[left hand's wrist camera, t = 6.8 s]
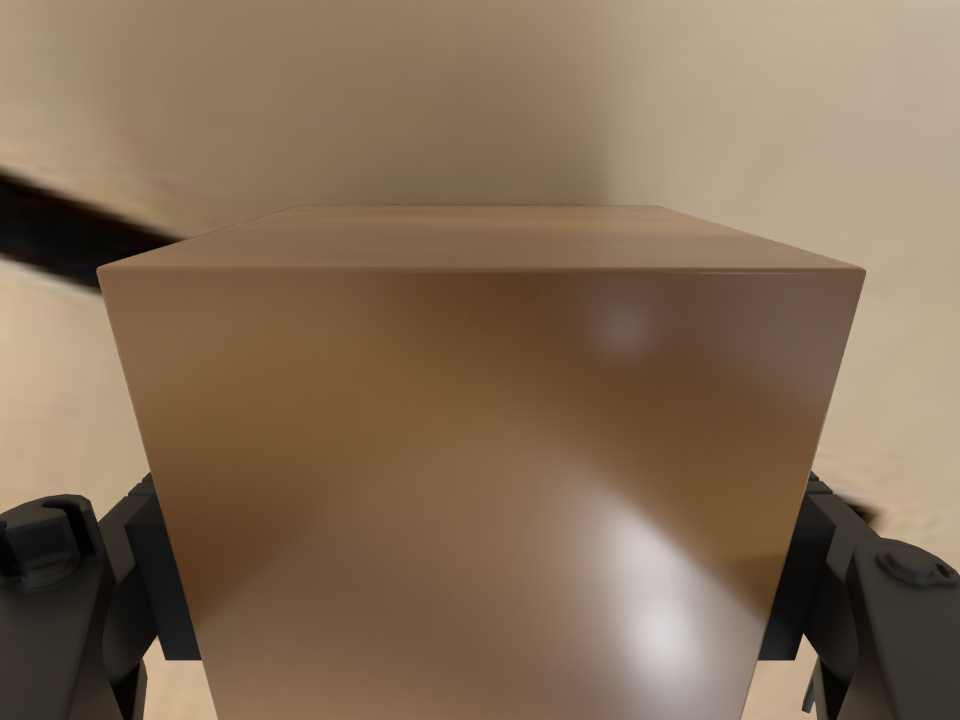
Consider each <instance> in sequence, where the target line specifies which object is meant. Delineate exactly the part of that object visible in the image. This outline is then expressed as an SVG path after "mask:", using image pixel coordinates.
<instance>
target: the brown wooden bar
mask: <svg viewBox="0 0 960 720" xmlns="http://www.w3.org/2000/svg"><path fill="white" fill-rule="evenodd" d="M97 276H98V279H99V283H100V287H101V290H102V294H103V298H104V301H105V305H106V309H107V312H108V316H109V320H110V323H111V327H112V331H113V334H114V338H115V342H116V346H117V349H118V353H119V357H120V360H121V364H122V368H123V371H124V375H125V379H126V382H127V386H128V390H129V393H130V397H131V401H132V404H133V408H134V412H135V415H136V419H137V423H138V426H139V430H140V434H141V437H142V441H143V445H144V448H145V452H146V456H147V460H148V463H149V467H150V471H151V474H152V478H153V482H154V485H155V489H156V493H157V496H158V500H159V504H160V507H161V511H162V515H163V518H164V522H165V526H166V529H167V533H168V537H169V540H170V544H171V548H172V551H173V555H174V559H175V562H176V566H177V570H178V574H179V577H180V581H181V585H182V588H183V592H184V596H185V599H186V603H187V607H188V610H189V614H190V618H191V621H192V625H193V629H194V632H195V636H196V640H197V643H198V647H199V651H200V654H201V658H202V662H203V665H204V669H205V673H206V677H207V680H208V684H209V688H210V691H211V695H212V699H213V702H214V706H215V710H216V713H217V717H218V720H741V717H742V713H743V710H744V706H745V703H746V699H747V695H748V692H749V688H750V685H751V681H752V678H753V674H754V671H755V667H756V663H757V660H758V656H759V653H760V649H761V646H762V642H763V639H764V635H765V631H766V628H767V624H768V621H769V617H770V614H771V610H772V607H773V603H774V599H775V596H776V592H777V589H778V585H779V582H780V578H781V575H782V571H783V567H784V564H785V560H786V557H787V553H788V550H789V546H790V543H791V539H792V535H793V532H794V528H795V525H796V521H797V518H798V514H799V511H800V507H801V503H802V500H803V496H804V493H805V489H806V486H807V482H808V479H809V475H810V471H811V468H812V464H813V461H814V457H815V454H816V450H817V447H818V443H819V439H820V436H821V432H822V429H823V425H824V422H825V418H826V415H827V411H828V407H829V404H830V400H831V397H832V393H833V390H834V386H835V383H836V379H837V375H838V372H839V368H840V365H841V361H842V358H843V354H844V351H845V347H846V343H847V340H848V336H849V333H850V329H851V326H852V322H853V319H854V315H855V311H856V308H857V304H858V301H859V297H860V294H861V290H862V287H863V283H864V279H865V276H866V270H865V269H863V268H861V267H858V266H855V265H851V264H848V263H845V262H841V261H838V260H835V259H832V258H828V257H825V256H822V255H818V254H815V253H812V252H808V251H805V250H802V249H798V248H795V247H792V246H788V245H785V244H782V243H779V242H775V241H772V240H769V239H765V238H762V237H759V236H755V235H752V234H749V233H745V232H742V231H739V230H736V229H732V228H729V227H726V226H722V225H719V224H716V223H712V222H709V221H706V220H702V219H699V218H696V217H692V216H689V215H686V214H683V213H679V212H676V211H673V210H669V209H666V208H663V207H659V206H549V205H299V206H296V207H292V208H289V209H286V210H282V211H279V212H276V213H273V214H269V215H266V216H263V217H260V218H256V219H253V220H250V221H247V222H243V223H240V224H237V225H233V226H230V227H227V228H224V229H220V230H217V231H214V232H211V233H207V234H204V235H201V236H197V237H194V238H191V239H188V240H184V241H181V242H178V243H175V244H171V245H168V246H165V247H162V248H158V249H155V250H152V251H148V252H145V253H142V254H139V255H135V256H132V257H129V258H126V259H122V260H119V261H116V262H112V263H109V264H106V265H103V266H100V267H98V268H97Z"/></svg>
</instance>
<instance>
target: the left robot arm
mask: <svg viewBox="0 0 960 720" xmlns="http://www.w3.org/2000/svg"><path fill="white" fill-rule="evenodd" d="M803 633H804V635H805V636H806V638H807V639H808V640H809V642H810V643H811V645H812V646H813V648H814V649H815V651H816V652H817V654H818V658H817V661H816V664H815V667H814V670H813V673H812V676H811V679H810V682H809V685H808V688H807V691H806V694H805V697H804V700H803V705H802V711H804V712H807V713H810V711H811V708H812V705H813V702H814V701H815V703H816V712H817V720H960V575H959V574H958V573H957V572H956V570H954V569H953V568H952V567H951V566H949V565H948V564H947V563H945V562H944V561H943V560H941V559H940V558H939V557H937V556H935V555H933V554H931V553H929V552H927V551H925V550H923V549H921V548H919V547H917V546H914V545H911V544H908V543H905V542H902V541H899V540H893V539H887V538H881V537H880V536H879V535H878V534H877V533H876V532H875V531H873V530H872V529H871V528H870V527H869V526H868V525H867V524H866V523H865V522H864V521H863V520H862V519H861V518H860V517H859V516H858V515H857V514H856V513H855V512H854V511H853V510H852V509H851V508H850V507H849V506H848V505H846V504H845V503H844V502H843V501H842V500H841V499H840V498H839V497H838V496H837V495H833V491H832V490H831V489H830V488H829V487H828V486H827V485H826V484H825V483H824V482H823V481H819V478H818V477H817V476H816V475H815V474H814V473H813V472H812V471H810V475H809V479H808V482H807V486H806V489H805V493H804V496H803V500H802V503H801V507H800V511H799V514H798V518H797V521H796V525H795V528H794V532H793V535H792V539H791V543H790V546H789V550H788V553H787V557H786V560H785V564H784V567H783V571H782V575H781V578H780V582H779V585H778V589H777V592H776V596H775V599H774V603H773V607H772V610H771V614H770V617H769V621H768V624H767V628H766V631H765V635H764V639H763V642H762V646H761V649H760V653H759V656H758V660H795V658H796V655H797V652H798V648H799V645H800V642H801V639H802V635H803ZM157 635H158V637H159V641H160V644H161V647H162V650H163V653H164V657H165V660H202V658H201V654H200V651H199V647H198V643H197V640H196V636H195V632H194V629H193V625H192V621H191V618H190V614H189V610H188V607H187V603H186V599H185V596H184V592H183V588H182V585H181V581H180V577H179V574H178V570H177V566H176V562H175V559H174V555H173V551H172V548H171V544H170V540H169V537H168V533H167V529H166V526H165V522H164V518H163V515H162V511H161V507H160V504H159V500H158V496H157V493H156V489H155V485H154V482H153V478H152V474H151V471H150V472H149V473H148V474H147V475H146V476H145V477H144V478H143V479H142V483H138V484H137V485H136V486H135V487H134V488H133V489H132V490H131V491H130V492H129V493H128V496H125V497H124V498H123V499H122V500H121V501H120V502H119V503H117V504H116V505H115V506H114V507H113V508H112V509H111V510H110V511H109V512H108V513H107V514H106V515H105V516H104V517H103V518H102V519H101V520H100V521H99V522H98V523H97V520H96V517H95V514H94V511H93V508H92V505H91V502H90V500H88V499H86V498H85V497H83V496H81V495H71V494H63V495H56V496H48V497H44V498H40V499H37V500H34V501H30V502H27V503H24V504H22V505H19V506H17V507H15V508H13V509H10V510H8V511H6V512H4V513H2V514H0V720H143V714H144V705H145V696H146V687H147V672H146V667H145V664H144V661H143V658H142V657H143V656H144V654H145V653H146V651H147V650H148V648H149V647H150V645H151V644H152V642H153V641H154V639H155V638H156V636H157Z"/></svg>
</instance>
